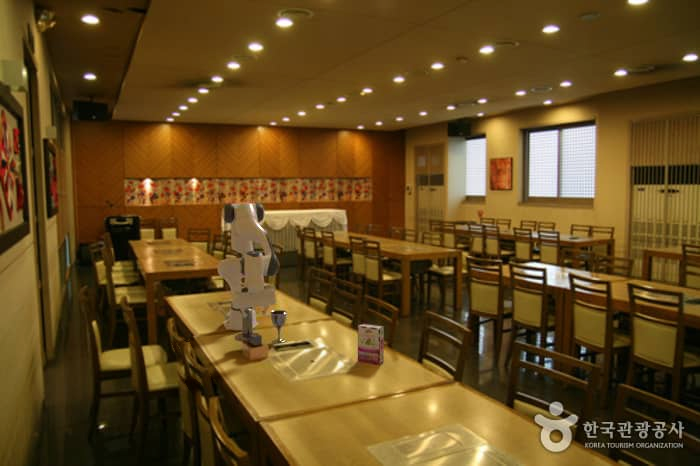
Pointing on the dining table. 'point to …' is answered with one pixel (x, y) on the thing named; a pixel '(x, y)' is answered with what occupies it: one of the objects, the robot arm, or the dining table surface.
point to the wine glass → (278, 323)
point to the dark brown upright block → (255, 340)
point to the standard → (248, 351)
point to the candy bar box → (371, 343)
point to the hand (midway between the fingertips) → (254, 315)
